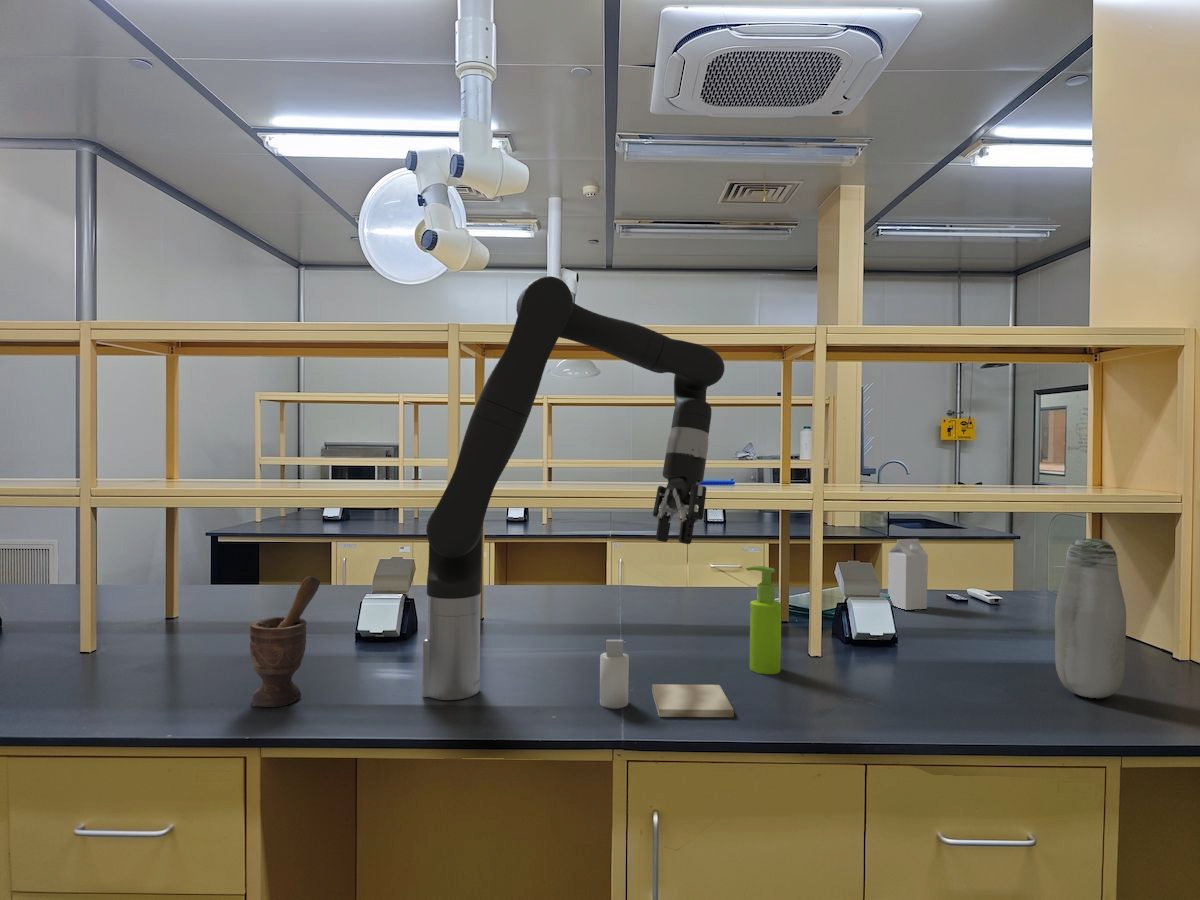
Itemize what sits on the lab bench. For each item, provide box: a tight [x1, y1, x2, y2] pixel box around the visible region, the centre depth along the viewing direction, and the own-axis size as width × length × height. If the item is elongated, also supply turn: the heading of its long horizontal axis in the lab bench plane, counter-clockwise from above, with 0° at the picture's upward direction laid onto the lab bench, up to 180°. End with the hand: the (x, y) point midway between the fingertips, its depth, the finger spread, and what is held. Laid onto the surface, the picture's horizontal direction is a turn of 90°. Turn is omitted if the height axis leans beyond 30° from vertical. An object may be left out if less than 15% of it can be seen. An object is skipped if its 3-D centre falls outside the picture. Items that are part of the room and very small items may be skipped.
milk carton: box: [887, 538, 929, 610], centre depth 196 cm, size 7×7×19 cm
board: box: [651, 683, 735, 718], centre depth 120 cm, size 12×12×1 cm
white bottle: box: [599, 639, 630, 710], centre depth 120 cm, size 5×5×11 cm
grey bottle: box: [1054, 538, 1127, 699], centre depth 127 cm, size 10×10×28 cm
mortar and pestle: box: [249, 575, 321, 708], centre depth 120 cm, size 12×9×20 cm
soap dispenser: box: [745, 565, 782, 675], centre depth 139 cm, size 6×7×20 cm
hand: (672, 542), depth 129 cm, fingers open, 8 cm apart
